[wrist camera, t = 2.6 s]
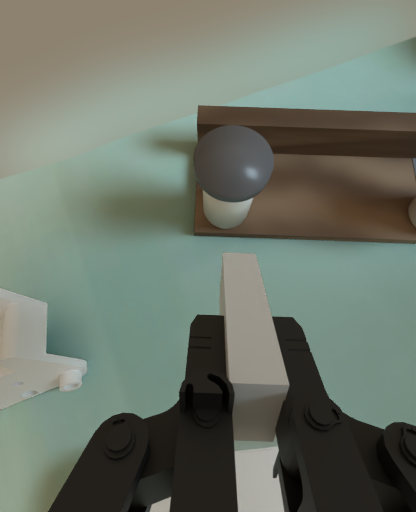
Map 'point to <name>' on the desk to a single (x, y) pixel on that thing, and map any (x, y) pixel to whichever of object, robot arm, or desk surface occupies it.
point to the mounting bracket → (30, 353)
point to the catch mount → (325, 174)
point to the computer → (251, 478)
